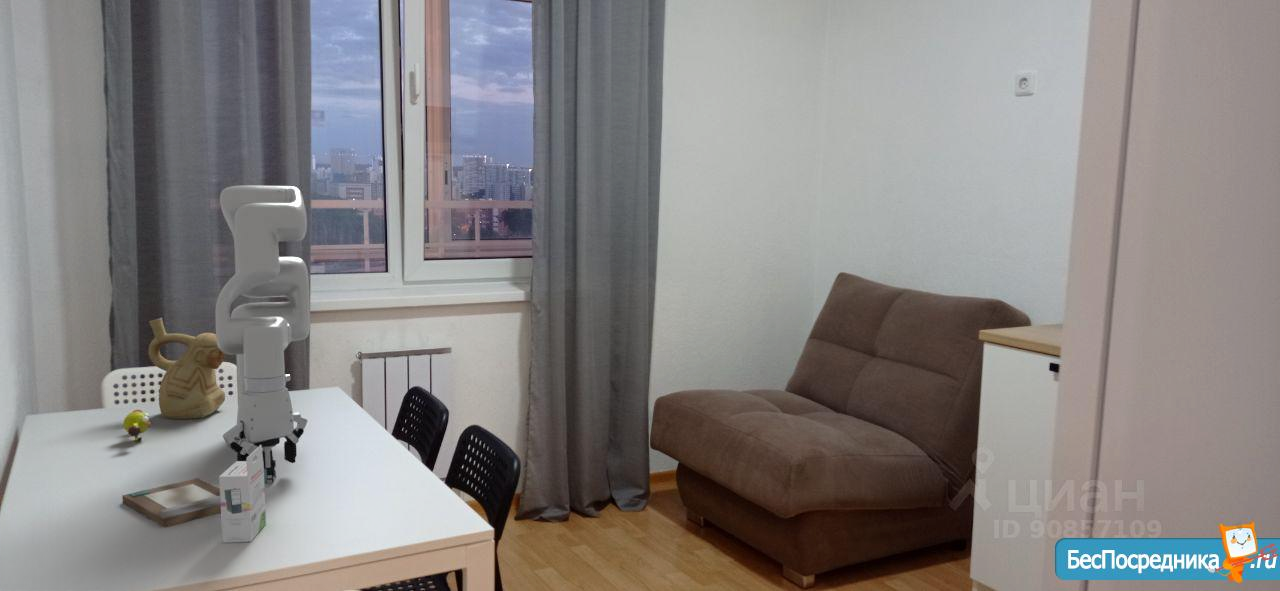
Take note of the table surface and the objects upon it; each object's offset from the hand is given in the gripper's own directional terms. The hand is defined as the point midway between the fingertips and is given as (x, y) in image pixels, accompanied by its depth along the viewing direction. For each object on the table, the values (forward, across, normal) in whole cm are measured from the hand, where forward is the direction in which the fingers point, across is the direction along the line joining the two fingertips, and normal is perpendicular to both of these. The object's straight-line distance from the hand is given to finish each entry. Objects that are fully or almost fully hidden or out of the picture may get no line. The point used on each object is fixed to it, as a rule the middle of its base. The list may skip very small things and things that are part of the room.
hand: (267, 466), depth 188 cm
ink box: (+3, +17, +24) cm, 30 cm away
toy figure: (+3, +6, -49) cm, 49 cm away
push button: (+3, 0, 0) cm, 3 cm away
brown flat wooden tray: (+3, +18, +2) cm, 18 cm away
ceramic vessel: (+3, -13, -65) cm, 66 cm away
